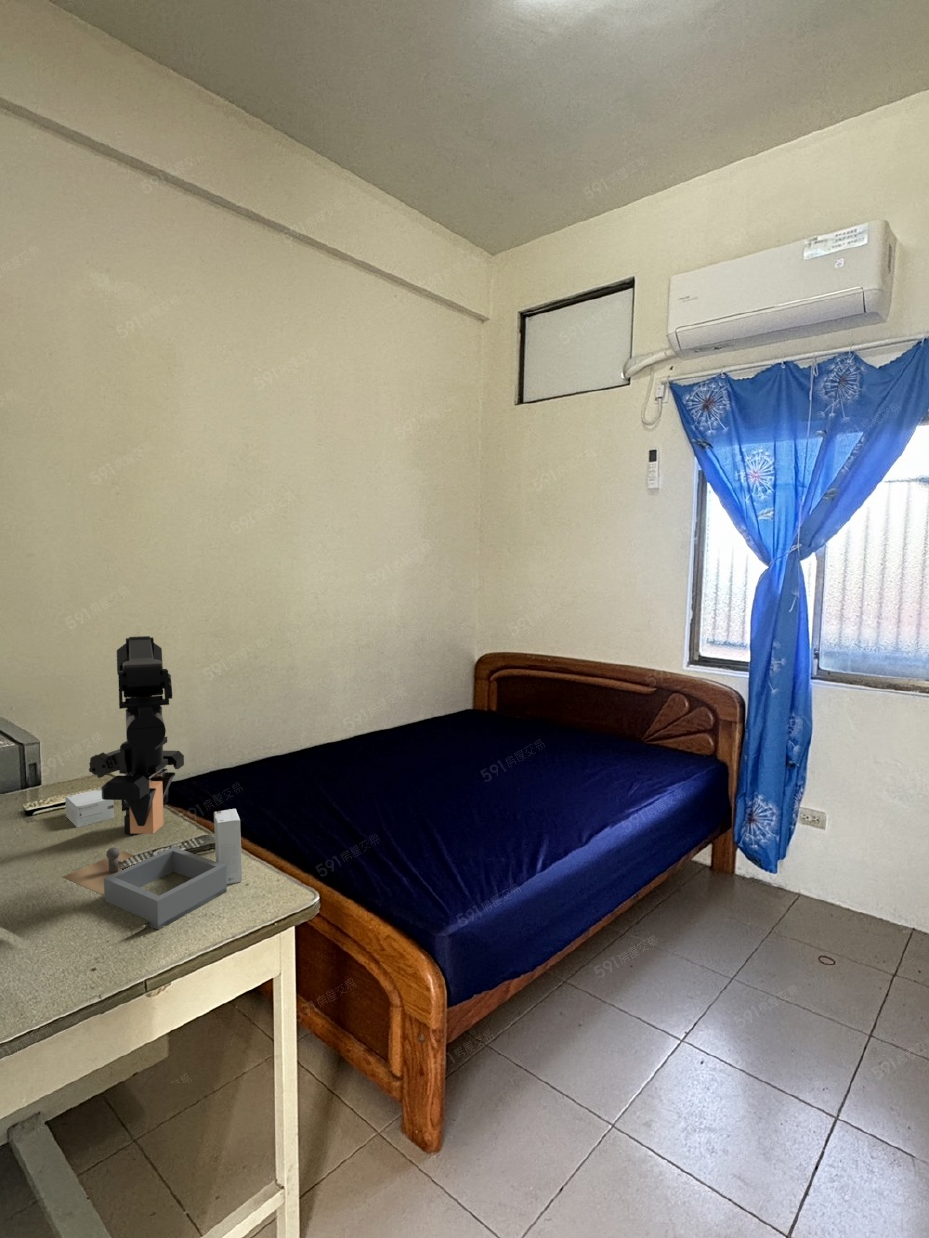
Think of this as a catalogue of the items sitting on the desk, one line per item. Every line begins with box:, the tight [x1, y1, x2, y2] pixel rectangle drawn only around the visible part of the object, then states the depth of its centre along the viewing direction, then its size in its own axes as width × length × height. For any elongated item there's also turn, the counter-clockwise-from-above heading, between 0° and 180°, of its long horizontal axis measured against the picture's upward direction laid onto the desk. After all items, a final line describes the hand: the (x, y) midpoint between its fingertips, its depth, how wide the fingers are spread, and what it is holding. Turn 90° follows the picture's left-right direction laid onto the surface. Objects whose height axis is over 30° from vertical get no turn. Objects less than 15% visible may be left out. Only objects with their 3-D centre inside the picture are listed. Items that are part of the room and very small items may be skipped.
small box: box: [64, 788, 115, 828], centre depth 149 cm, size 8×8×5 cm
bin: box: [103, 846, 228, 931], centre depth 117 cm, size 14×14×5 cm
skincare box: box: [213, 808, 243, 886], centre depth 124 cm, size 6×4×12 cm
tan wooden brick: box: [130, 781, 165, 835], centre depth 117 cm, size 4×4×8 cm
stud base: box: [62, 846, 136, 896], centre depth 124 cm, size 12×12×6 cm
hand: (147, 820), depth 117 cm, fingers closed on tan wooden brick, 4 cm apart
